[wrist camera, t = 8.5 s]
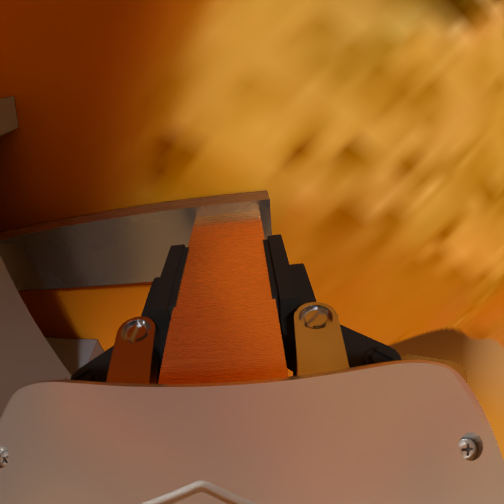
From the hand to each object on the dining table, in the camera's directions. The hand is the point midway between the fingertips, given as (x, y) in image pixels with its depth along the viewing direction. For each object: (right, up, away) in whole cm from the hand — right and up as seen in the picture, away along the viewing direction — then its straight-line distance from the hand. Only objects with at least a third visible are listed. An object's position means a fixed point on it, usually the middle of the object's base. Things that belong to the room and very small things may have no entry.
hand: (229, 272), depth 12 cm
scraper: (-10, +1, +3) cm, 11 cm away
